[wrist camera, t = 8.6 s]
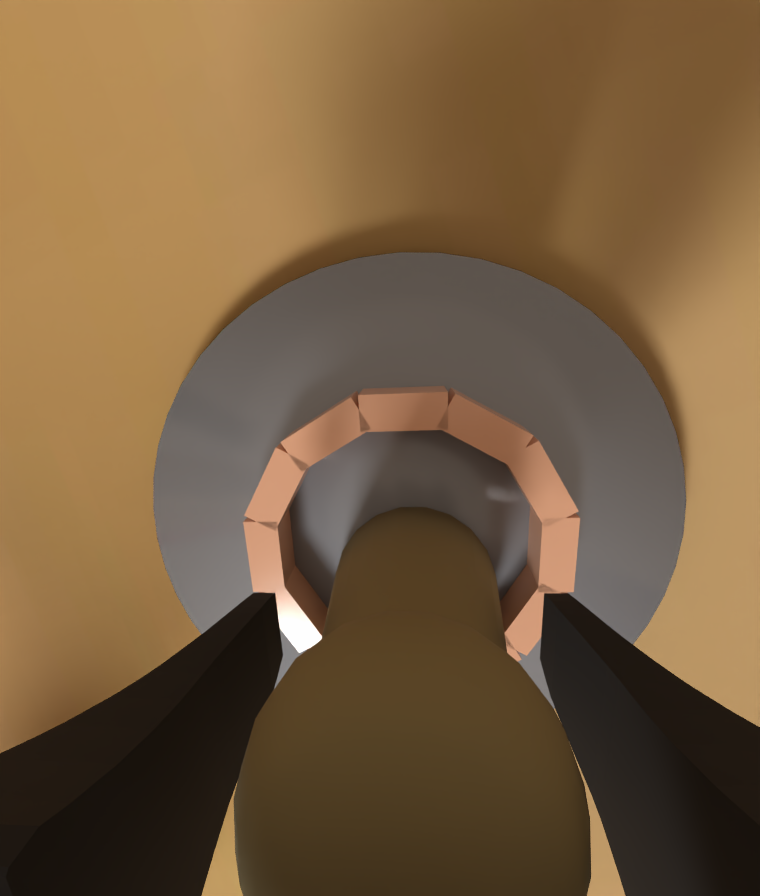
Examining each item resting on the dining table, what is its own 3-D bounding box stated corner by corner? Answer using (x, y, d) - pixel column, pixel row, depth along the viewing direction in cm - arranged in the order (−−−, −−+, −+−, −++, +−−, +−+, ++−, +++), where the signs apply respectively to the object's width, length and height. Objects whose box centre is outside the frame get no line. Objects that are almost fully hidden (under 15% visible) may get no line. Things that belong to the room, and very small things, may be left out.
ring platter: (709, 239, 14) (772, 219, 11) (637, 726, 19) (670, 783, 17) (122, 274, 15) (68, 263, 13) (207, 715, 21) (180, 767, 18)
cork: (322, 520, 16) (114, 686, 5) (480, 493, 16) (625, 616, 5) (350, 676, 16) (203, 1174, 5) (510, 655, 16) (728, 1167, 5)
